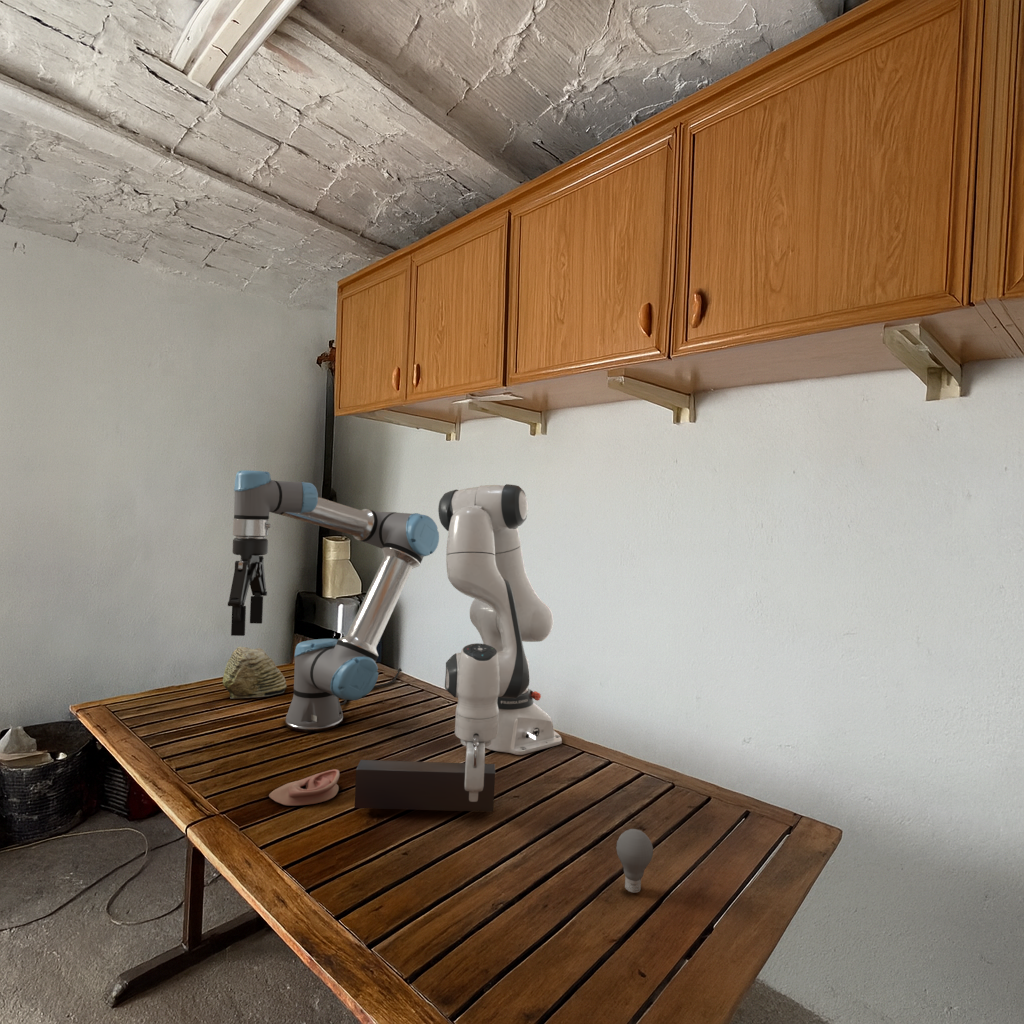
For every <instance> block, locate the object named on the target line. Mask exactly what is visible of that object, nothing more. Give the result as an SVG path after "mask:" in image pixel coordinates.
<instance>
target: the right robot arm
mask: <svg viewBox="0 0 1024 1024" xmlns="http://www.w3.org/2000/svg"><path fill="white" fill-rule="evenodd" d="M437 512H438V518H439V519H438V520H439V522H440V524H441V526H442V527H443V528H444V529H445V530H446V531H447V540H446V551H445V552H446V554H445V555H446V557H445V561H446V563H445V566H446V573H447V574H446V575H447V579H448V581H449V582H450V584H451V586H452V587H453V588H454V589H456V590H457V591H458V592H460V593H461V594H463V595H465V596H466V597H470V598H472V599H473V600H472V602H471V604H470V608H469V619H470V622H471V623H472V625H473V626H474V627H475V629H476V630H477V633H478V634H479V637H480V638H481V641H482V643H480V642H479V643H470V644H467V645H465V646H464V647H463V648H462V649H461V650H460V652H456V653H454V654H452V655H451V656H450V657H449V659H447V660H446V662H445V679H444V689H445V690H446V692H448V693H449V694H450V695H451V696H452V697H454V698H457V703H456V708H455V715H454V716H455V717H454V718H455V719H454V735H455V737H456V738H458V739H459V740H460V744H461V745H462V746H464V747H465V762H464V763H465V784H464V786H465V790H466V791H469V801H471V802H476V801H478V792H479V791H482V790H483V787H484V767H485V764H486V749H487V750H489V751H494V752H500V753H509V754H513V755H517V756H523V755H527V754H530V753H534V752H538V751H541V750H545V749H548V748H552V747H555V746H559V745H561V744H563V739H562V736H561V735H560V734H559V733H558V732H556V730H555V729H554V723H553V719H552V717H551V716H550V715H549V714H548V713H547V712H546V711H545V710H543V709H542V708H541V707H540V706H539V705H537V703H535V702H534V700H535V701H540V699H541V698H542V695H541V693H540V692H538V691H535V690H532V689H530V688H529V686H530V679H531V675H530V662H529V659H528V657H527V655H526V653H525V649H524V645H523V642H524V643H536V642H537V643H538V642H543V641H544V640H546V639H547V638H548V637H549V636H550V634H552V633H551V632H552V630H553V628H554V623H555V621H554V615H553V611H552V610H551V608H550V607H549V606H548V605H547V604H546V603H545V602H543V600H542V599H541V598H540V597H539V595H538V594H537V592H536V590H535V589H534V587H533V585H532V583H531V581H530V579H529V577H528V573H527V570H526V565H525V561H524V555H523V547H522V542H521V541H522V540H521V536H520V531H519V528H518V527H520V526H522V525H523V524H524V523H525V522H526V520H527V517H528V512H529V502H528V498H527V495H526V492H525V491H524V490H523V488H521V487H520V485H517V484H510V483H509V484H507V483H506V484H504V485H501V484H488V485H479V486H475V487H474V486H473V487H468V488H462V489H453V490H450V491H447V492H445V493H444V494H443V495H442V497H440V499H439V502H438V509H437Z"/></svg>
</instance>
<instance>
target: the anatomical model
mask: <svg viewBox="0 0 1024 1024" xmlns="http://www.w3.org/2000/svg"><path fill="white" fill-rule="evenodd" d="M339 780H340V770H339V769H336V768H335V769H334V768H333V769H330V770H325V771H321V772H319V773H316V774H313V775H310V776H307V777H305V778H302V779H299V780H295V781H292V782H288V783H286V784H283V785H281V786H279V787H277V788H275V789H273V791H270V793H269V794H268V797H269V798H270V799H271V800H273V802H275V803H278V804H280V805H283V806H288V807H289V806H290V807H291V806H293V807H295V806H296V807H297V806H306V805H314V804H318V803H322V802H326V801H329V800H331V799H333V798H334V797H335V796H336V795H337V794H338V793H339V789H340V787H339V784H337V783H338V782H339Z"/></svg>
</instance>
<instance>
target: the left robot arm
mask: <svg viewBox="0 0 1024 1024" xmlns="http://www.w3.org/2000/svg"><path fill="white" fill-rule="evenodd" d="M233 491H234V496H233V497H234V498H233V499H234V504H233V522H232V523H233V524H232V536H234V538H233V539H232V551H231V552H232V554H233V555H235V556H240V560H235V561H234V571H233V577H232V582H231V588H230V592H229V598H228V601H227V607H231V626H230V627H231V629H230V636H231V637H245V635H246V618H247V617H246V615H247V606H246V605H245V602H246V600H247V596H248V593H249V592H248V591H249V589H250V590H251V596H250V606H249V609H250V610H249V624H258V625H259V624H263V614H264V613H263V612H264V597H266V596H268V591H267V585H266V576H265V566H264V558H265V557H264V556H265V555H267V554H268V553H269V552H268V551H269V540H268V538H266V537H268V536H269V529H270V528H271V527H272V525H271V523H269V519H270V513H271V514H275V515H279V516H283V517H287V518H290V519H293V520H297V521H301V522H304V523H308V524H312V525H315V526H319V527H322V528H326V529H330V530H333V531H336V532H340V533H344V534H347V535H351V536H353V538H354V539H355V540H356V541H359V542H363V543H365V544H368V545H371V546H374V547H376V548H379V549H381V551H382V554H383V558H382V560H381V563H380V565H379V567H378V569H377V571H376V573H375V575H374V577H373V579H372V582H371V584H370V586H369V588H368V590H367V592H366V594H365V596H364V598H363V600H362V602H361V605H360V606H359V608H358V610H357V613H356V615H355V617H354V619H353V621H352V623H351V625H350V627H349V629H348V632H347V634H346V635H344V636H341V637H340V638H338V639H337V638H318V639H308V640H304V641H300V642H299V643H297V644H296V646H295V650H294V655H293V657H294V672H293V673H294V674H293V695H292V696H293V697H292V699H291V702H290V704H289V708H288V711H287V713H286V715H285V726H286V728H287V729H289V730H291V731H294V732H295V731H296V732H301V733H316V732H325V731H329V730H332V729H335V728H337V727H339V726H340V725H342V723H343V722H344V714H343V709H342V706H344V705H346V704H347V702H348V701H358V700H360V699H362V698H364V697H366V696H367V695H368V694H370V693H371V692H372V690H373V689H377V688H381V687H385V686H388V685H390V684H391V685H392V684H393V683H394V682H395V681H396V680H397V678H398V677H399V675H400V673H401V672H402V671H403V670H402V668H401V667H399V668H398V669H397V672H398V673H397V672H396V674H395V676H394V677H393V679H391V680H390V681H388V682H386V683H381V684H378V685H376V684H377V682H378V678H379V672H378V670H379V666H378V664H377V660H378V659H379V652H378V650H377V647H378V644H380V643H379V642H380V641H381V638H382V636H383V634H384V631H385V629H386V627H387V625H388V623H389V621H390V618H391V616H392V614H393V612H394V610H395V608H396V605H397V603H398V601H399V599H400V597H401V594H402V592H403V590H404V588H405V586H406V584H407V581H408V579H409V576H410V575H411V573H412V571H413V569H416V568H418V567H420V566H421V564H422V561H423V559H424V557H428V556H430V555H432V554H434V553H435V552H436V549H437V548H438V546H439V542H440V532H439V530H438V526H437V523H436V521H435V520H434V519H433V518H432V517H430V516H429V515H426V514H421V513H418V512H414V513H407V512H396V511H379V510H373V509H369V508H363V509H358V508H355V507H352V506H349V505H345V504H342V503H339V502H336V501H334V500H333V501H332V500H329V499H326V498H324V497H321V496H319V493H318V489H317V487H316V486H315V485H314V484H313V483H312V482H306V481H292V480H291V481H289V480H273V479H272V477H271V474H270V472H269V471H265V470H264V471H263V470H249V469H248V470H246V469H242V470H239V471H237V472H236V474H235V479H234V488H233ZM340 699H341V700H343V702H340Z"/></svg>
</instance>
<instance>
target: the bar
mask: <svg viewBox="0 0 1024 1024" xmlns="http://www.w3.org/2000/svg"><path fill="white" fill-rule="evenodd" d="M495 783H496V764H495V763H485V767H484V787H483V790H482V791H479V792H478V801H476V802H471V801H469V791H466V790H465V786H464V784H465V762H444V761H443V762H442V761H441V762H440V761H439V762H437V761H411V760H407V761H406V760H379V759H378V760H376V759H374V760H373V759H360V760H359V762H358V765H357V766H356V769H355V786H354V787H355V788H354V809H372V810H373V809H374V810H375V809H376V810H377V809H379V810H415V811H417V810H418V811H449V812H450V811H452V812H455V811H456V812H483V813H484V812H485V813H486V812H488V813H491V812H492V813H493V812H494V806H495V805H494V804H495V787H496V786H495Z"/></svg>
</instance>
